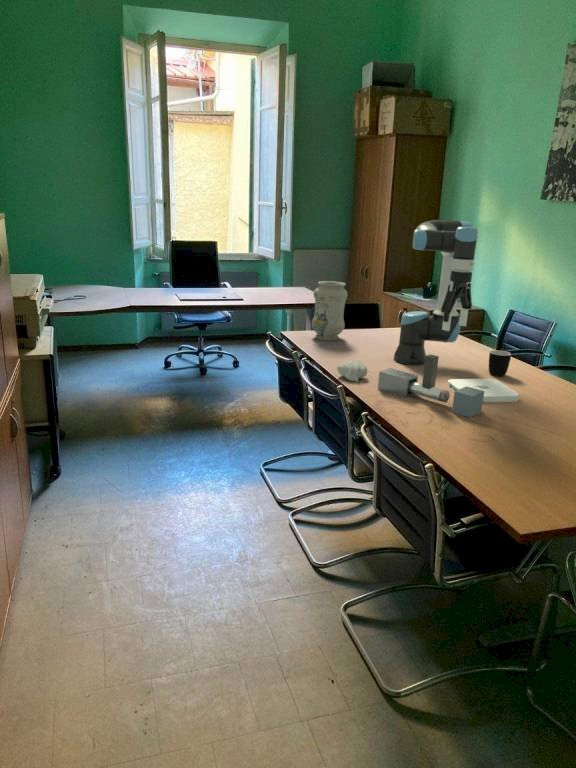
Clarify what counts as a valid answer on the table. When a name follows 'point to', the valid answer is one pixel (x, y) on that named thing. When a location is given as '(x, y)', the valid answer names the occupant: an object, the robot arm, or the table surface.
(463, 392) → the grey block
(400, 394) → the sleeve
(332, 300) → the vase
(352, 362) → the shell shaped sculpture
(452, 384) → the computer
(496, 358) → the mug
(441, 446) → the table surface
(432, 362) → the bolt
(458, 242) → the robot arm
